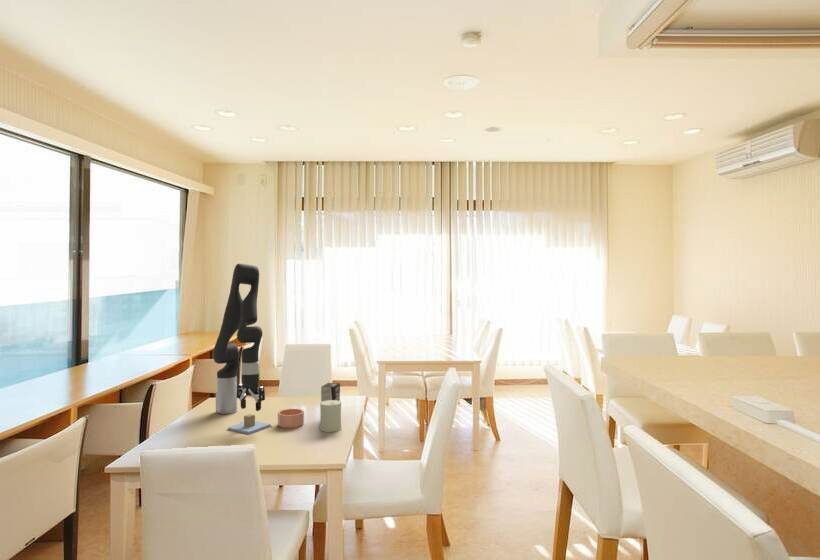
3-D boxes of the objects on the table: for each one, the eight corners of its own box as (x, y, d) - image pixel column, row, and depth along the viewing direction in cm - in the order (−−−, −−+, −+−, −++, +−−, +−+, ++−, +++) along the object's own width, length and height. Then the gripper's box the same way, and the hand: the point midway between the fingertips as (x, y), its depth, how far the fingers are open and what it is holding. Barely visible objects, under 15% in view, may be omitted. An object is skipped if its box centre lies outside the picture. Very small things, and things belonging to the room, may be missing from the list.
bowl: (272, 426, 227) (272, 413, 227) (289, 420, 237) (289, 407, 237) (292, 430, 222) (292, 416, 222) (308, 423, 232) (308, 410, 231)
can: (323, 433, 218) (323, 405, 218) (317, 427, 227) (317, 400, 226) (344, 430, 223) (344, 402, 222) (337, 424, 231) (337, 398, 231)
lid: (228, 429, 222) (228, 417, 221) (249, 422, 233) (249, 410, 232) (249, 434, 216) (249, 421, 216) (270, 426, 227) (270, 413, 227)
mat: (225, 430, 221) (225, 429, 221) (249, 422, 234) (249, 421, 234) (249, 435, 215) (249, 434, 215) (273, 426, 227) (273, 426, 227)
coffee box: (333, 422, 234) (333, 387, 234) (320, 421, 236) (320, 386, 235) (340, 416, 243) (340, 382, 243) (327, 416, 244) (327, 382, 244)
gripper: (231, 372, 224) (232, 409, 224) (256, 375, 217) (256, 413, 217) (244, 369, 230) (245, 405, 231) (268, 372, 224) (269, 409, 224)
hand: (250, 409), depth 224 cm, fingers open, 8 cm apart
